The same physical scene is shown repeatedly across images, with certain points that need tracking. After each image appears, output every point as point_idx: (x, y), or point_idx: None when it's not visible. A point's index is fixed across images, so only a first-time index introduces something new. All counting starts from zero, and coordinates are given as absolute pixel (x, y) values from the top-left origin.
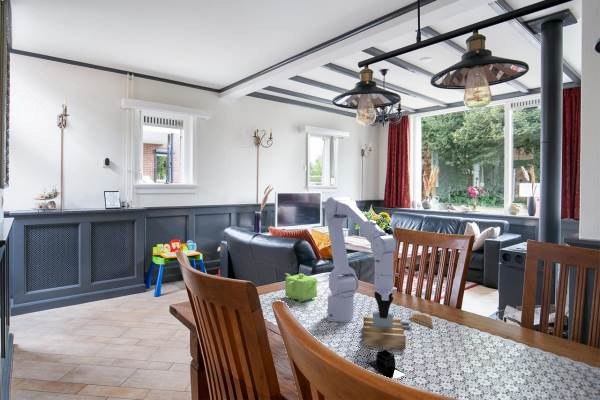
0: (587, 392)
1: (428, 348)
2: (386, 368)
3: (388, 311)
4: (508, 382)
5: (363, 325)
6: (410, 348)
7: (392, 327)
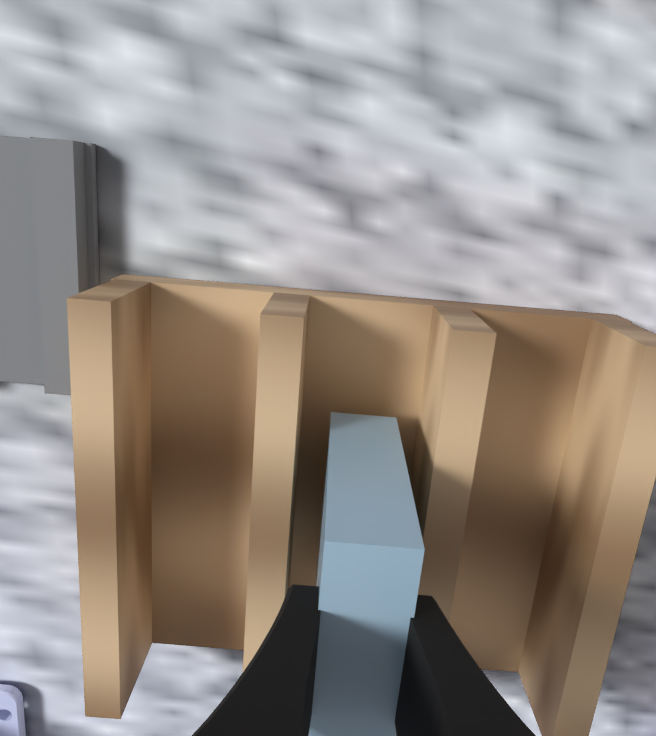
0: None
1: (594, 51)
2: None
3: (476, 664)
4: None
5: (149, 648)
6: (589, 257)
7: (401, 453)
